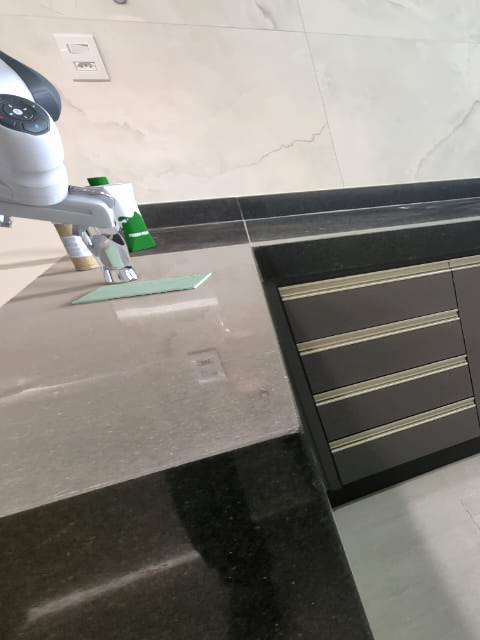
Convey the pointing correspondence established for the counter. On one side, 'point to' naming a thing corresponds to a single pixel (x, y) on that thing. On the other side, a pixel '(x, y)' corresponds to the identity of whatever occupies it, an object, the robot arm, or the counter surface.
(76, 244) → the sprinkles bottle
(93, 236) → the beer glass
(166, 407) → the counter surface
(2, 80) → the robot arm
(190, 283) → the drying mat
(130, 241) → the milk carton
